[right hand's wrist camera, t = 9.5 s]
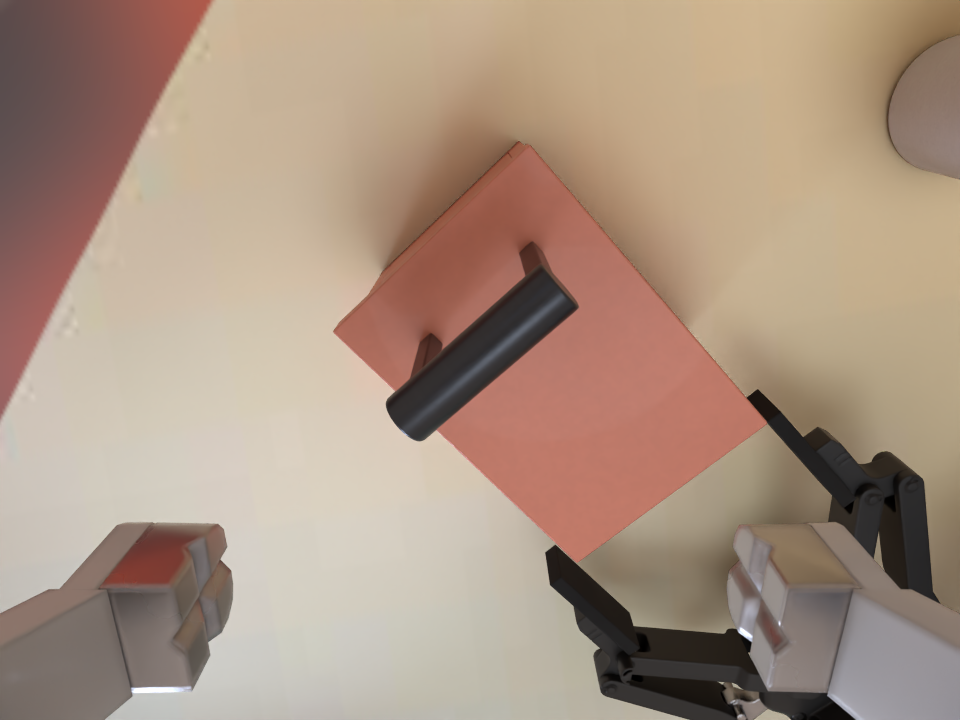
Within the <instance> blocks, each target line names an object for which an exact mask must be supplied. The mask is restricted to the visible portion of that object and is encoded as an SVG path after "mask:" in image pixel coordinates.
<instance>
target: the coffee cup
mask: <svg viewBox="0 0 960 720" xmlns="http://www.w3.org/2000/svg"><path fill="white" fill-rule="evenodd" d="M888 124H889V132H890V136H891V139H892V142H893V144H894V146H895V148H896V150H897V151H898V153H899V154H900V155H901V156H902V157H903V158H904V159H905V160H906V161H907V162H909V163H910V164H912V165H913V166H915V167H918V168H920V169H923V170H927V171H930V172H934V173H938V174H941V175H945V176H949V177H953V178H956V179H960V35H957V36H954V37H951V38H948V39H945V40H943V41H941V42H938V43H937V44H935V45H933V46H931V47H930V48H928V49H927V50H926V51H924V52H923V53H922V54H921V55H919V56H918V57H917V58H916V59H915V60H914V61H913V62H912V63H911V64H910V66H909V67H908V68H907V69H906V71H905V72H904V74H903V75H902V77H901V78H900V80H899V82H898V84H897V86H896V88H895V90H894V93H893V96H892V99H891V103H890V107H889V115H888Z"/></svg>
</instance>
